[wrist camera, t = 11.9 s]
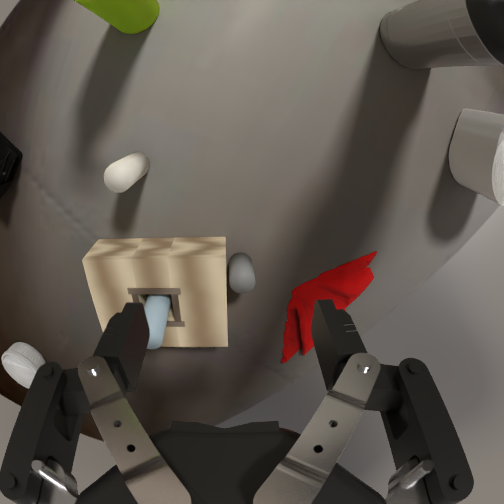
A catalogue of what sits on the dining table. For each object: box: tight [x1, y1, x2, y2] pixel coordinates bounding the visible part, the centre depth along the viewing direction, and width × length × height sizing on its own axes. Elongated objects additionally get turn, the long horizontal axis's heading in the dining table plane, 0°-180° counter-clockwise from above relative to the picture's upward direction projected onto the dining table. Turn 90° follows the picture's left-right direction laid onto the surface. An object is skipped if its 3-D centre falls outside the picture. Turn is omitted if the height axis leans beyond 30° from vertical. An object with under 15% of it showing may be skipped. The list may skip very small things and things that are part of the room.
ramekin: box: [2, 342, 46, 388], centre depth 45 cm, size 11×11×5 cm
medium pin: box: [104, 152, 150, 193], centre depth 30 cm, size 3×3×8 cm
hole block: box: [82, 237, 228, 347], centre depth 39 cm, size 18×14×6 cm
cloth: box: [281, 252, 377, 363], centre depth 46 cm, size 26×14×2 cm, turn 137°
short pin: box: [229, 253, 255, 293], centre depth 39 cm, size 3×3×5 cm
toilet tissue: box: [449, 108, 504, 206], centre depth 32 cm, size 11×12×10 cm
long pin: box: [144, 294, 172, 349], centre depth 36 cm, size 3×3×12 cm
